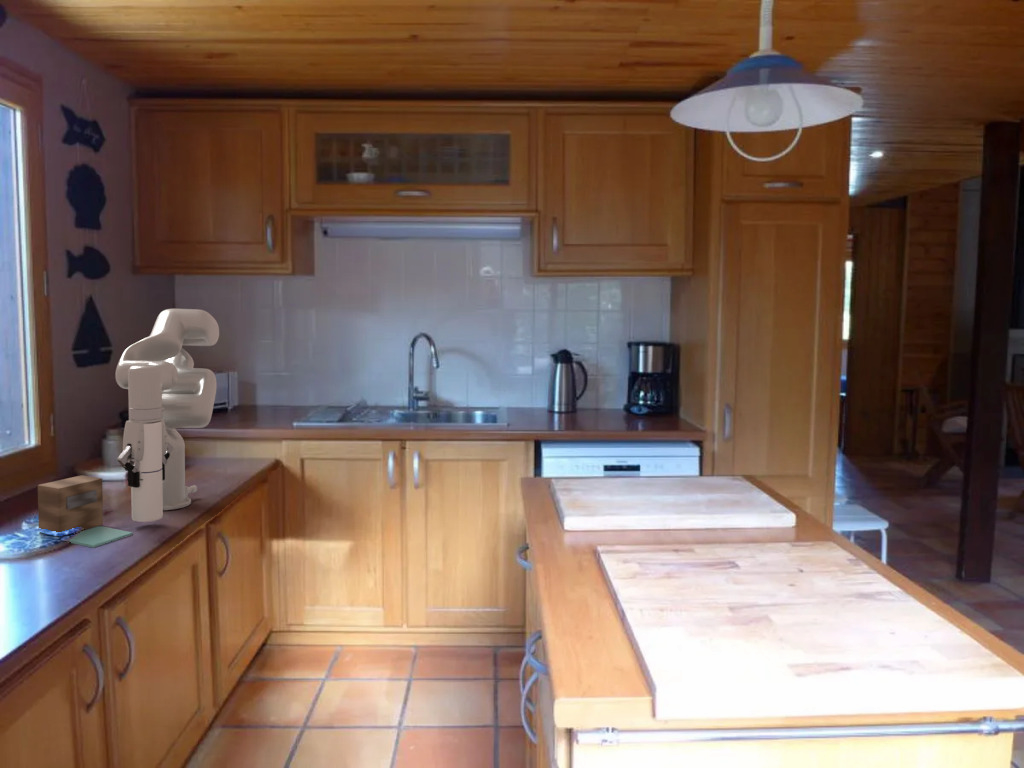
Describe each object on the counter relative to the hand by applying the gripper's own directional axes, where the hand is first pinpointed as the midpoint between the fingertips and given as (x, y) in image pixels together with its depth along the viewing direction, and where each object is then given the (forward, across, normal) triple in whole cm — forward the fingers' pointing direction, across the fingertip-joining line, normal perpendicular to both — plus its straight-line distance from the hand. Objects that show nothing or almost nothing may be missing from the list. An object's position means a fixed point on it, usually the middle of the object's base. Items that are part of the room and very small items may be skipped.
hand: (146, 482), depth 187 cm
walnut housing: (+12, +10, -14) cm, 21 cm away
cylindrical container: (+9, 0, 0) cm, 9 cm away
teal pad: (+11, +12, -3) cm, 17 cm away
